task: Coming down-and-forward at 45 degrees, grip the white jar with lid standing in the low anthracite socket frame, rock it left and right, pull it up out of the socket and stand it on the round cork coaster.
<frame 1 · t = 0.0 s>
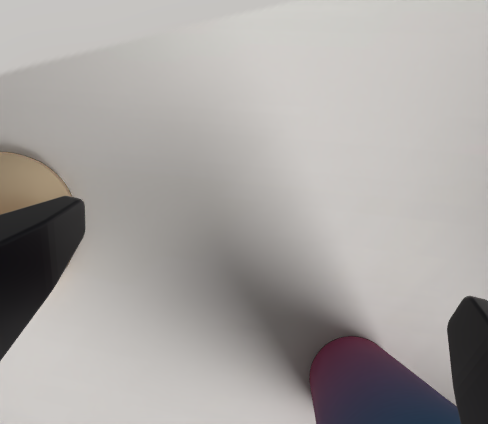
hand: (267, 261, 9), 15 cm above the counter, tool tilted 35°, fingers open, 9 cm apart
cup: (351, 377, 24), on the counter
coaster: (6, 227, 25), on the counter
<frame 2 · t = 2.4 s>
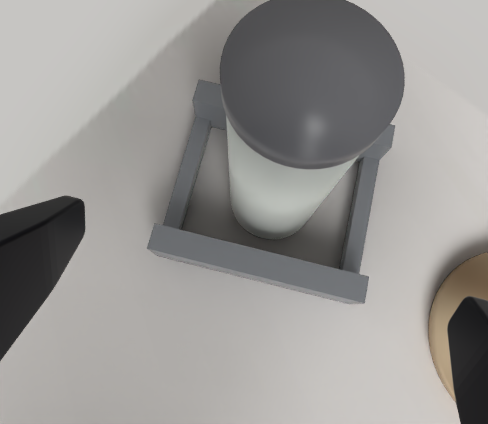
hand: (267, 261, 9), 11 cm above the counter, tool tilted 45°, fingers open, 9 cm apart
white jar with lid: (271, 198, 22), resting in socket frame
socket frame: (271, 198, 22), on the counter
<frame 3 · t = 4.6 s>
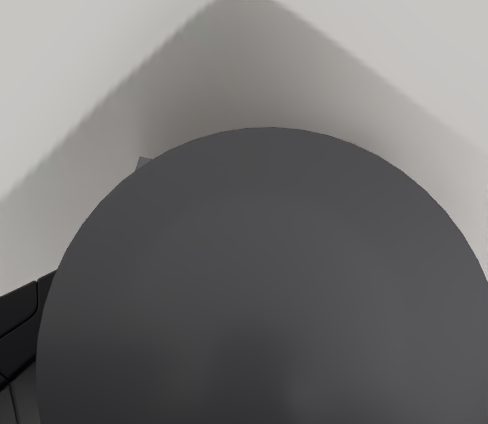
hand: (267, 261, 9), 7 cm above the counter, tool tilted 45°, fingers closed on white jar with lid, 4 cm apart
white jar with lid: (246, 315, 15), resting in socket frame, touching gripper
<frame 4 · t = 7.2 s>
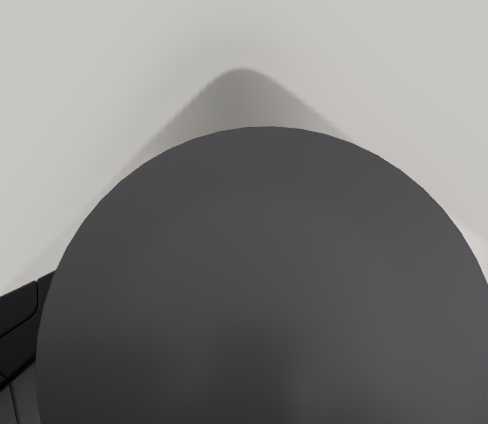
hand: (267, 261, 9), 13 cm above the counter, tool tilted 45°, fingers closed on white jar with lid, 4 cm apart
white jar with lid: (247, 315, 15), point 6 cm above the counter, touching gripper
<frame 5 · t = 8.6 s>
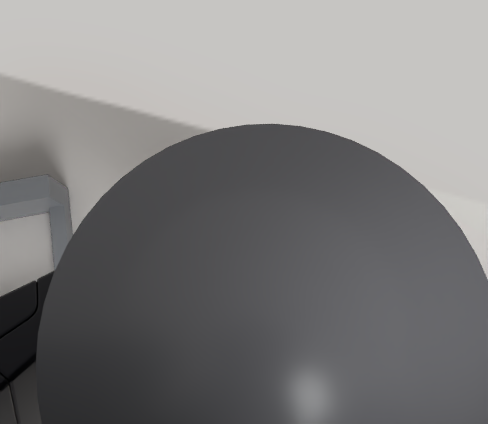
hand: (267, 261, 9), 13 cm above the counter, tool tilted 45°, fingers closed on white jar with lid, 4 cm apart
white jar with lid: (247, 314, 15), point 6 cm above the counter, touching gripper
when the fingers open (8 cm above the counter, at t = 9.9 s): white jar with lid stays where it is, resting on coaster.
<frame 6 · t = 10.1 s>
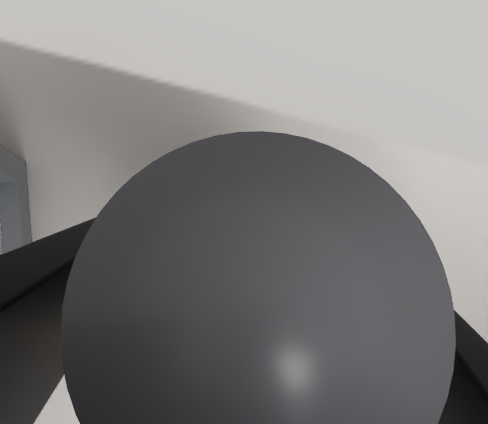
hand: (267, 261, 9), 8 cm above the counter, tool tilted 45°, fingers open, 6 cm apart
white jar with lid: (245, 315, 16), point 1 cm above the counter, touching coaster
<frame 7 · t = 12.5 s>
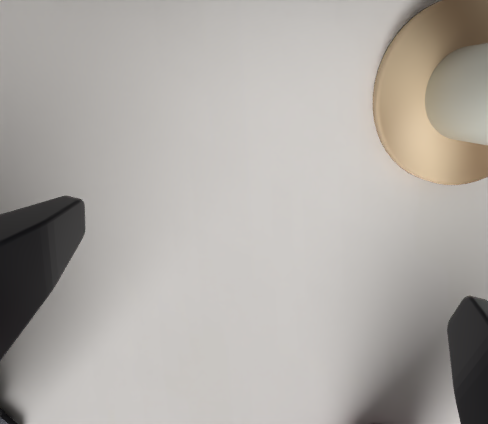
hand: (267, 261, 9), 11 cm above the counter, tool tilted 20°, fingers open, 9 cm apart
white jar with lid: (467, 94, 20), point 1 cm above the counter, touching coaster
coaster: (457, 94, 20), on the counter
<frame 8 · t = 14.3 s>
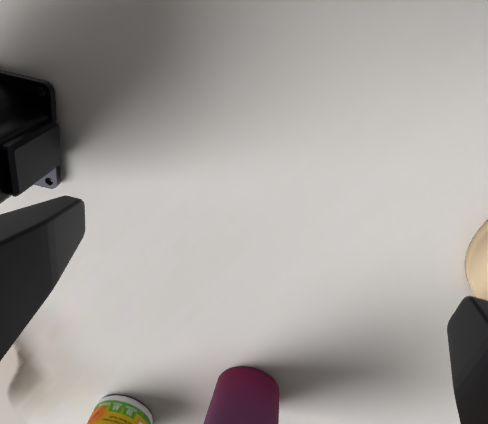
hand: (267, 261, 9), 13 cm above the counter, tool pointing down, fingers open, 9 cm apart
cup: (248, 385, 33), on the counter
supplement bottle: (126, 409, 37), on the counter
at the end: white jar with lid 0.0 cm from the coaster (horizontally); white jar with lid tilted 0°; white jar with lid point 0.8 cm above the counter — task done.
